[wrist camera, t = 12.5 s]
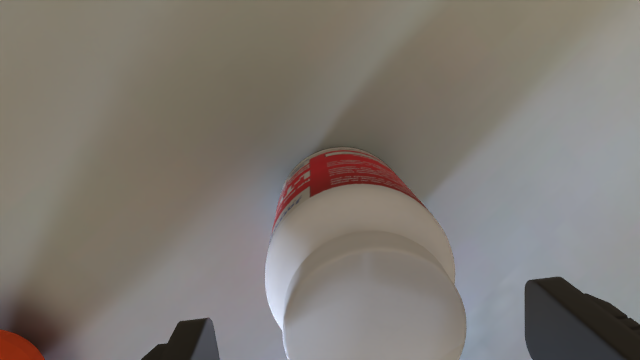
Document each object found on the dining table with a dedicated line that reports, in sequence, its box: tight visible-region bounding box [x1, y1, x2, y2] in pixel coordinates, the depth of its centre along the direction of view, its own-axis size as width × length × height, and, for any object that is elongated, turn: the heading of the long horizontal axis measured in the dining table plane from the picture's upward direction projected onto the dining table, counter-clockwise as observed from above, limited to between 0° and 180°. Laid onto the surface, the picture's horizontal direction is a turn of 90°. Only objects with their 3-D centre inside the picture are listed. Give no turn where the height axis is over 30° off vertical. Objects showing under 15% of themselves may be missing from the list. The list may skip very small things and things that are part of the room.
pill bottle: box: [265, 147, 466, 360], centre depth 16 cm, size 6×6×11 cm
